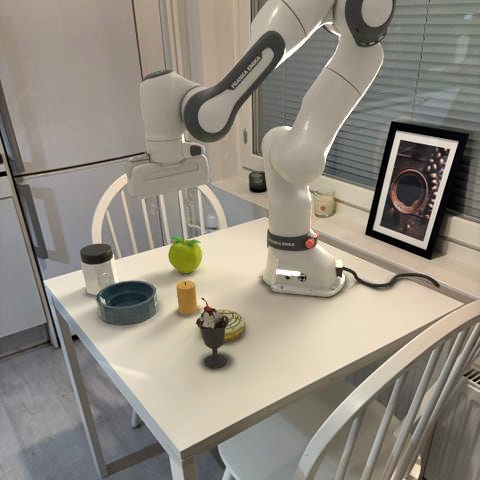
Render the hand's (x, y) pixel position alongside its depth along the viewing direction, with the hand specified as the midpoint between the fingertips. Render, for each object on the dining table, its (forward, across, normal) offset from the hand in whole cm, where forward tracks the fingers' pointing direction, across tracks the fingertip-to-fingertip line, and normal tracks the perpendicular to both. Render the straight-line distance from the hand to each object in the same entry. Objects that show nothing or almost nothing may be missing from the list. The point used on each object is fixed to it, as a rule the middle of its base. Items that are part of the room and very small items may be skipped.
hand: (172, 209), depth 119 cm
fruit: (+24, +8, +12) cm, 27 cm away
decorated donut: (+24, -2, -22) cm, 32 cm away
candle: (+23, -3, -9) cm, 25 cm away
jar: (+23, -16, +16) cm, 32 cm away
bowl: (+23, -15, 0) cm, 28 cm away
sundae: (+23, -10, -31) cm, 40 cm away
